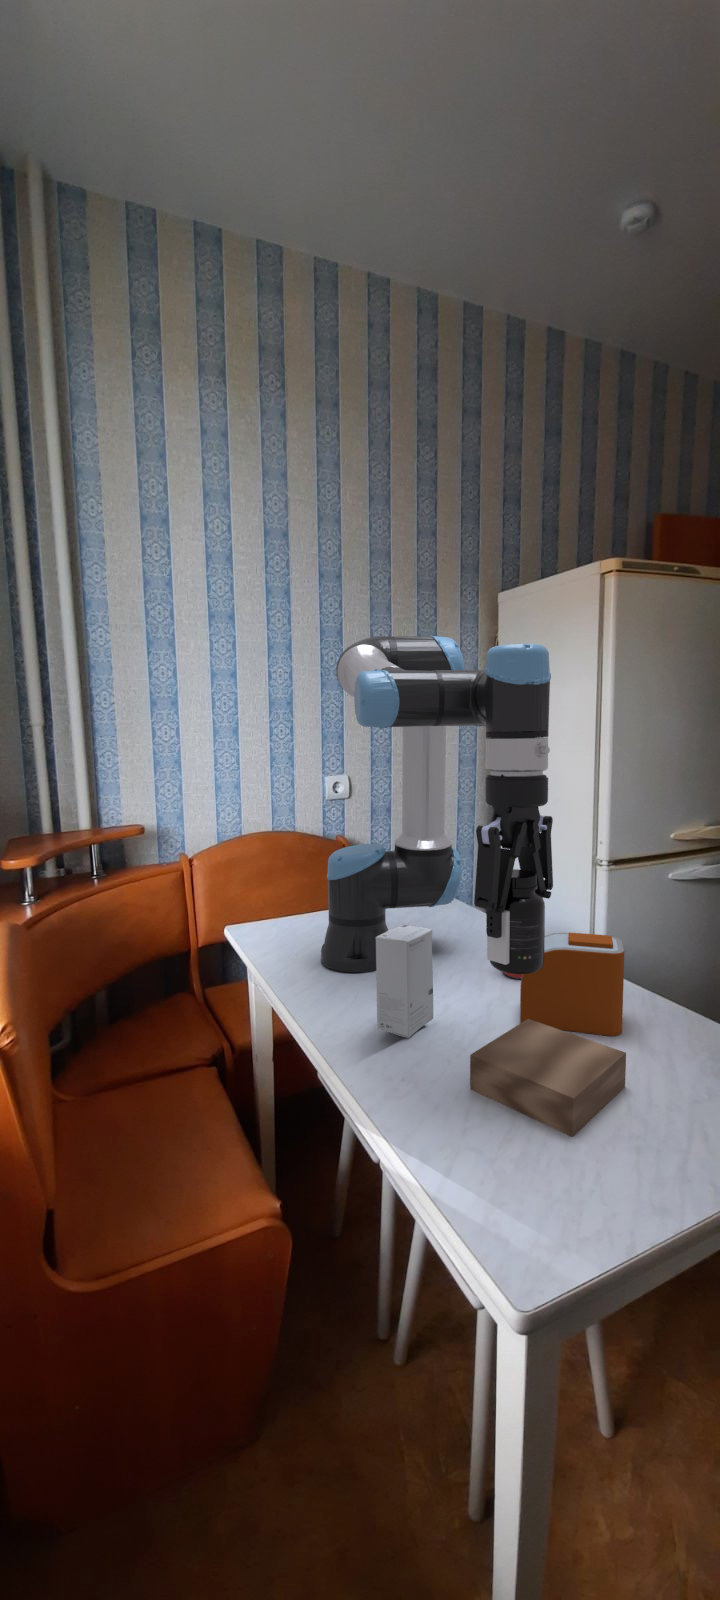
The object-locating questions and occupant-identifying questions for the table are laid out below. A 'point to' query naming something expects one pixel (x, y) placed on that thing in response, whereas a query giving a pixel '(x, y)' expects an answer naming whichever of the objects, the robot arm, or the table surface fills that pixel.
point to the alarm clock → (577, 985)
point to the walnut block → (548, 1074)
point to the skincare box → (404, 979)
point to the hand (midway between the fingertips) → (515, 953)
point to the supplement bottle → (524, 925)
